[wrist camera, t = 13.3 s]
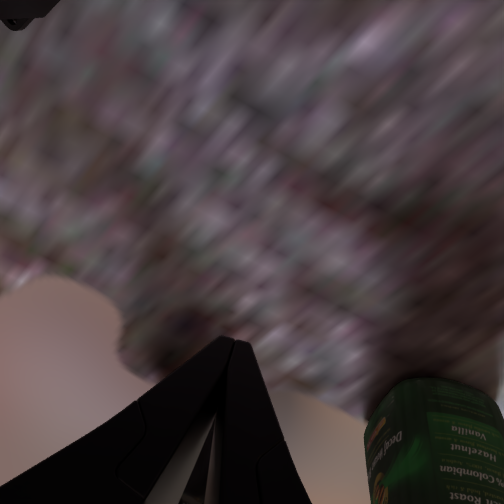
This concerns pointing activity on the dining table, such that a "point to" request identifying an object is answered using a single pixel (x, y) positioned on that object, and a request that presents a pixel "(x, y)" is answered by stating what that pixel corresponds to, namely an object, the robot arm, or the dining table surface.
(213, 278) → the dining table surface
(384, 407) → the coffee jar
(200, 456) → the supplement bottle
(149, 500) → the robot arm
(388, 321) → the dining table surface
